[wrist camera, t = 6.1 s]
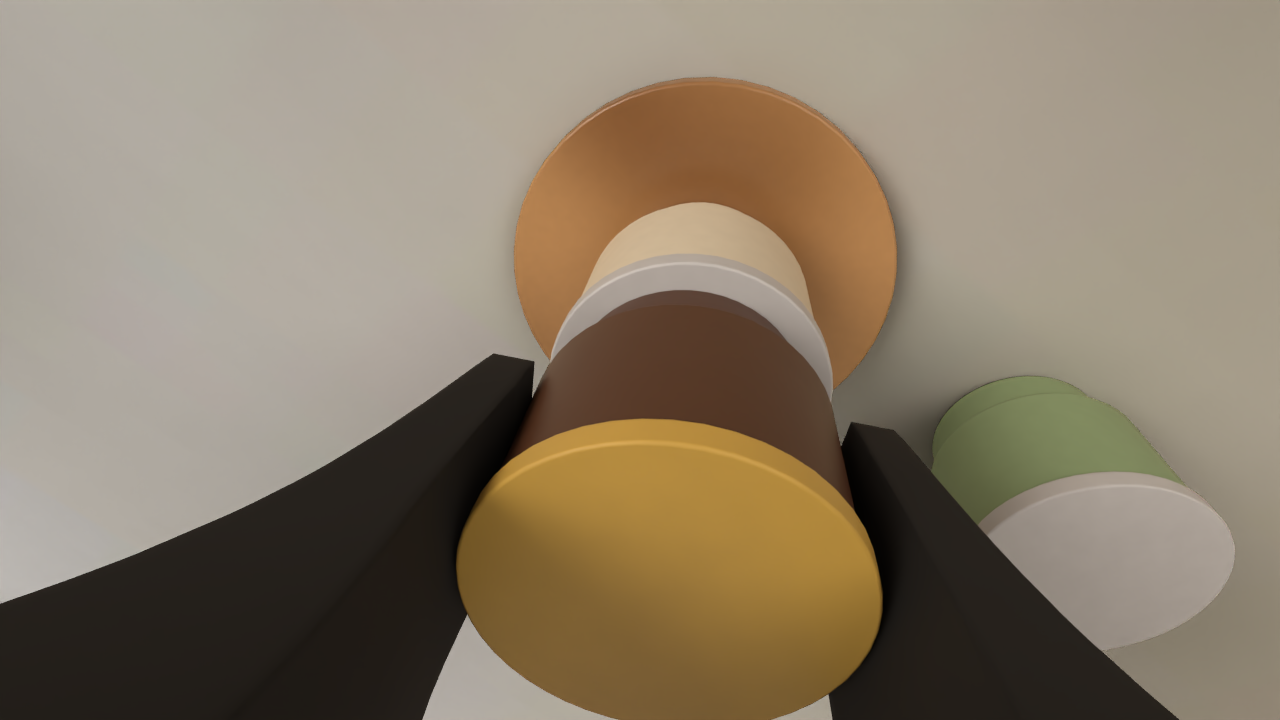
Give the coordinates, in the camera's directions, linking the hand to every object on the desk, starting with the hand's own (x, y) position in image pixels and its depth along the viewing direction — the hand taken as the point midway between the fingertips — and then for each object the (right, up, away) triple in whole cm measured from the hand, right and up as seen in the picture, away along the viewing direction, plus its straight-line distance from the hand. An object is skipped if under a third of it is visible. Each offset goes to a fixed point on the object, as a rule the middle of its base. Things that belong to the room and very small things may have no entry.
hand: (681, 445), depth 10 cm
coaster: (+1, +3, +5) cm, 6 cm away
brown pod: (0, +1, +1) cm, 1 cm away
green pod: (+9, -1, +7) cm, 11 cm away
